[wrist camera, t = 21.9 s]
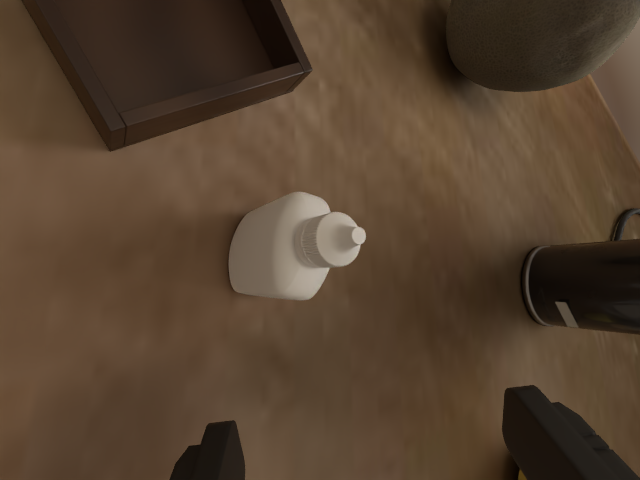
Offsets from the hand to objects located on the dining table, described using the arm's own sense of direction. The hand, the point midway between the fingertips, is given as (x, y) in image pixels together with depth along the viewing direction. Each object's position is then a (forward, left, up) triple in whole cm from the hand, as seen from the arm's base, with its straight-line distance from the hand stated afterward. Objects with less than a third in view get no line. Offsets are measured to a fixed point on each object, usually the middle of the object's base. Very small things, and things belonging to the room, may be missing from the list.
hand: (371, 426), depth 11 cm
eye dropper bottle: (-5, -4, -15) cm, 16 cm away
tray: (-7, -20, -15) cm, 26 cm away
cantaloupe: (-37, -11, -15) cm, 41 cm away
